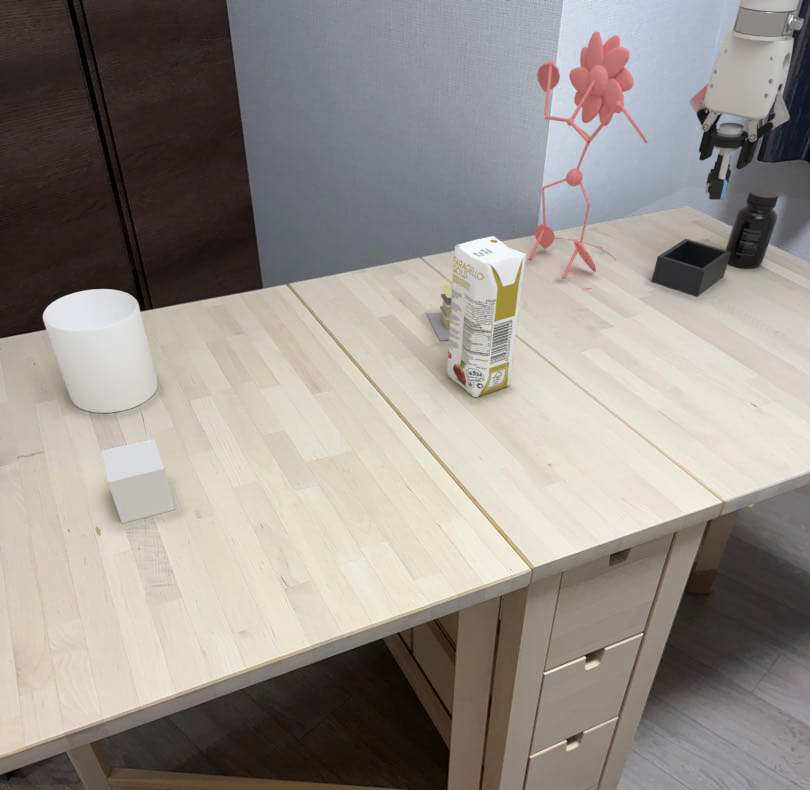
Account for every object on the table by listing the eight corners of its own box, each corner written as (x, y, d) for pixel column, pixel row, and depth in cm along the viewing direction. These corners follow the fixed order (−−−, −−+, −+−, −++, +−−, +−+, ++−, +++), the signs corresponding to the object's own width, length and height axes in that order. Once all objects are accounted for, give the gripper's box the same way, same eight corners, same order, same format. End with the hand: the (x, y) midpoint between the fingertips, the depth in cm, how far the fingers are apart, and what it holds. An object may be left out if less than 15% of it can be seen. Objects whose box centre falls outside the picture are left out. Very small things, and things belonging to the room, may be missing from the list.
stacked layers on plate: (439, 340, 114) (441, 307, 111) (426, 313, 121) (427, 281, 117) (502, 334, 116) (505, 301, 112) (485, 308, 122) (488, 276, 118)
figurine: (593, 297, 126) (641, 55, 101) (497, 245, 141) (519, 23, 117) (656, 276, 132) (715, 43, 108) (558, 228, 147) (590, 15, 123)
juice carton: (474, 403, 102) (486, 268, 89) (439, 374, 107) (446, 243, 94) (517, 387, 105) (535, 255, 92) (481, 360, 110) (493, 231, 97)
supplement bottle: (769, 263, 136) (793, 195, 128) (745, 272, 134) (769, 203, 125) (738, 250, 141) (760, 184, 132) (714, 259, 138) (735, 191, 129)
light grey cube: (175, 509, 85) (164, 468, 81) (121, 523, 84) (107, 482, 79) (165, 479, 89) (154, 438, 85) (114, 491, 88) (100, 450, 83)
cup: (121, 359, 109) (99, 280, 101) (175, 385, 104) (157, 304, 96) (52, 394, 102) (22, 313, 94) (107, 423, 97) (81, 340, 89)
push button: (693, 186, 122) (708, 118, 116) (727, 186, 122) (744, 118, 115) (700, 200, 118) (716, 131, 111) (735, 200, 117) (753, 130, 110)
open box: (723, 276, 132) (731, 251, 129) (697, 296, 126) (704, 271, 123) (678, 263, 136) (685, 238, 133) (651, 281, 130) (657, 256, 127)
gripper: (834, 28, 102) (786, 169, 115) (716, 12, 110) (683, 145, 123) (815, 36, 98) (767, 181, 110) (693, 19, 106) (661, 156, 118)
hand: (723, 161), depth 116 cm, fingers closed on push button, 5 cm apart
